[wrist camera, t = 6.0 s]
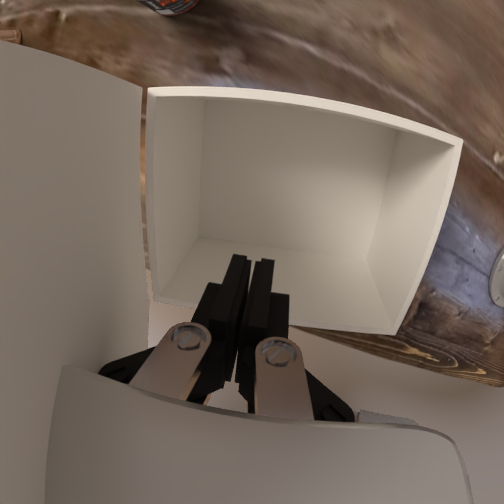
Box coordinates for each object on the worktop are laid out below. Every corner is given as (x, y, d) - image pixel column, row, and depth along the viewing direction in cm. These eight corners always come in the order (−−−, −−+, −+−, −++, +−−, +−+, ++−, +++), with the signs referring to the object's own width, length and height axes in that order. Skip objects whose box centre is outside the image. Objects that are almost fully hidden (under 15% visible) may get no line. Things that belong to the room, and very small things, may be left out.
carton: (400, 125, 24) (463, 139, 14) (367, 263, 32) (395, 335, 21) (202, 94, 25) (148, 87, 15) (195, 237, 33) (153, 300, 22)
